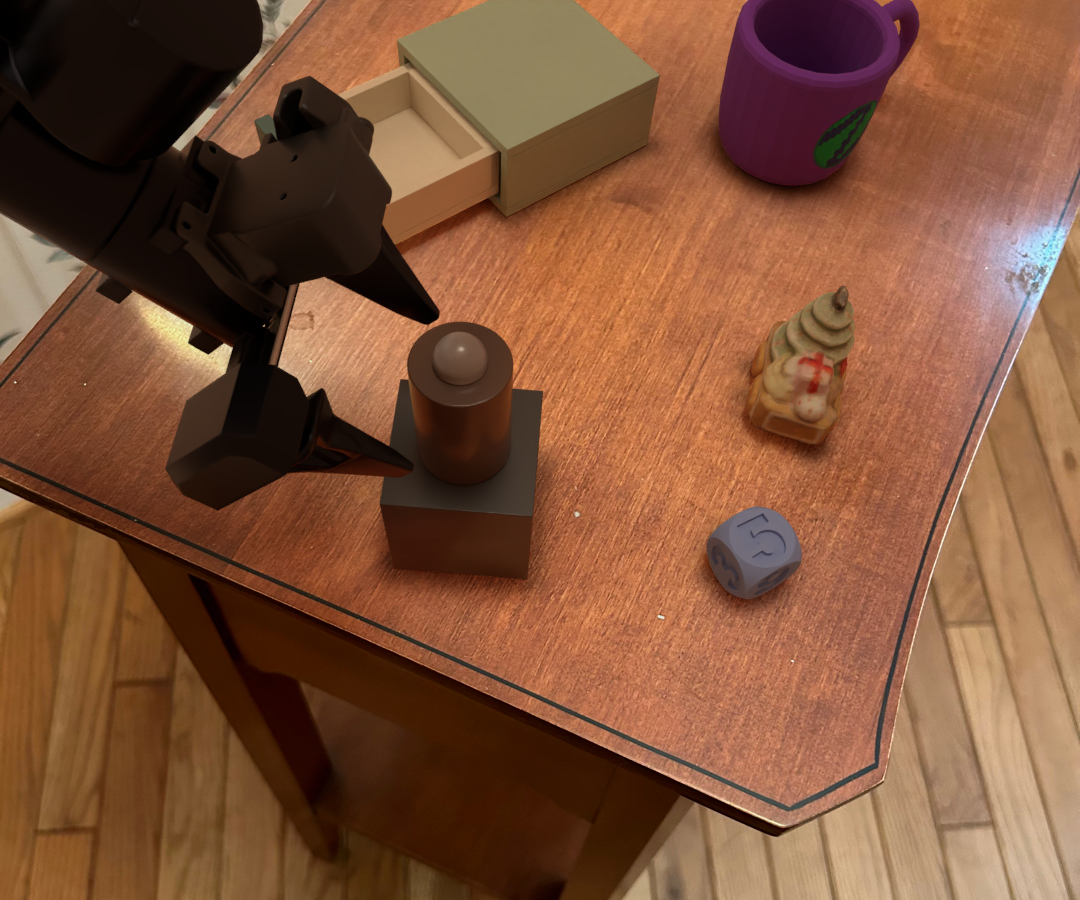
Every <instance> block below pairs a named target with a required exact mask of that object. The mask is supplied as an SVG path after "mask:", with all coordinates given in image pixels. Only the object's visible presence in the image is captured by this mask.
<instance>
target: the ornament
mask: <svg viewBox="0 0 1080 900" xmlns="http://www.w3.org/2000/svg"><path fill="white" fill-rule="evenodd" d="M849 296H850V294H849V289H848V288H847V285H841V286H839V287H838V289H837V290H836V291H828V292H825V293H822V294H820V295H819V296H817V297H816V298H815V299H814V300H812V301H810V302H808V303H807V304H806V305H805V306H804V307H803V308H801V309H800V310H798V311H797V312H795V313H794V314H793V315H792V316H791V317H790V318H789V320H783V319H782V320H778V321H776V322H775V323H774V324H772V326H771V328H770V330H769V332H768V335H767V336H766V338H765V340H764V341H761V342H760V343H759V345H758V347H757V348H756V351H755V354H754V356H753V360H752V364H751V371H750V372H751V376H752V377H753V378H754V379H753V381H752V383H751V386H750V389H749V392H748V394H747V398H746V403H745V408H746V410H747V412H748V415H749V419H750V422H751V424H753V425H754V427H755V428H757V429H759V430H761V431H765V432H768V433H772V434H774V435H778V436H781V437H785V438H787V439H792V440H794V441H797V442H800V443H805V444H808V445H812V446H818V445H820V444H821V443H822V442H824V440H825V438H827V436H828V435H829V434H830V432H831V431H832V430H834V429H835V427H836V425H837V424H838V421H839V418H840V416H841V407H842V399H841V396H842V394H843V391H844V387H845V384H844V383H845V379H846V376H847V369H848V356H849V354H850V352H851V351H852V349H853V348H854V345H855V343H856V342H855V341H856V339H855V329H856V322H855V319H854V318H855V309H854V306H853V304H852V302H851V301H850V300H849Z"/></svg>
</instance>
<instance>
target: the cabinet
mask: <svg viewBox="0 0 1080 900" xmlns="http://www.w3.org/2000/svg"><path fill="white" fill-rule="evenodd" d="M396 45H397V56H398V57H397V58H398V65H399V66H398V67H401V66H403V65H405V64H407V63H410V62H411V63H412V64H413V65H414V66H415V67H416V68H417V69H418V70H419V71H420V72H421V73H422V74H423V75H424V76H425V77H426V78H427V79H428V80H429V81H430V82H431V83H432V84H433V85H434V86H435V87H436V88H437V89H438V90H439V91H440V92H441V93H442V94H443V95H444V96H445V97H446V98H447V99H448V100H449V101H450V102H451V103H452V104H453V105H454V106H455V107H456V108H457V109H458V110H459V111H460V112H461V113H462V114H463V115H464V116H465V117H466V118H467V119H468V120H469V121H470V122H471V123H472V124H473V125H474V126H475V127H476V128H477V129H478V130H479V131H480V132H481V133H482V134H483V135H484V136H485V137H486V138H487V139H488V140H489V141H490V142H491V143H492V144H493V145H494V146H495V147H496V148H497V149H498V150H499V192H498V193H497V194H495V195H493V196H491V197H489V198H487V199H488V200H489V201H490V202H491V203H492V204H493V205H494V207H495V208H497V209H498V210H499V212H500V213H502V214H503V216H504V217H505V218H509V217H510V216H512V215H514V214H517V213H518V212H520V211H521V210H524V209H526V208H527V207H529V206H531V205H533V204H535V203H537V202H539V201H541V200H543V199H544V198H546V197H548V196H550V195H552V194H555V193H556V192H558V191H560V190H562V189H564V188H566V187H568V186H570V185H572V184H573V183H576V182H578V181H580V180H582V179H583V178H585V177H587V176H589V175H591V174H593V173H595V172H597V171H599V170H601V169H603V168H605V167H607V166H609V165H610V164H612V163H614V162H616V161H618V160H620V159H622V158H624V157H626V156H627V155H630V154H631V153H633V152H635V151H637V150H639V149H642V148H644V147H645V146H647V145H649V138H650V133H651V127H652V122H653V116H654V110H655V104H656V98H657V93H658V89H659V84H660V78H661V74H660V73H659V72H657V70H655V69H654V68H653V67H652V66H651V65H649V63H648V62H646V61H645V60H643V58H641V57H640V56H639V55H638V54H636V52H635V51H633V50H632V49H631V48H630V47H629V46H628V45H626V44H625V43H624V42H623V41H622V40H621V39H619V37H617V35H616V34H614V33H613V32H612V31H611V30H609V29H608V28H607V27H606V26H605V25H603V24H602V23H601V22H600V21H599V20H598V19H597V18H596V17H595V16H593V15H592V13H590V12H589V11H588V10H586V9H585V8H584V7H583V6H582V5H581V4H579V3H578V2H577V1H576V0H486V1H483V2H480V3H478V4H476V5H474V6H472V7H469V8H467V9H465V10H463V11H460V12H457V13H455V14H453V15H450V16H447V17H446V18H444V19H441V20H438V21H437V22H434V23H432V24H430V25H428V26H427V25H426V26H425V27H422V28H420V29H418V30H415V31H412V32H410V33H409V34H406V35H404V36H401V37H400V38H397V39H396Z"/></svg>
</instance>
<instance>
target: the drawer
mask: <svg viewBox="0 0 1080 900" xmlns="http://www.w3.org/2000/svg"><path fill="white" fill-rule="evenodd" d="M336 94H337V95H339V96H340V97H342V98H343V99H344V100H346V101H347V102H348V103H349V104H350V105H351V106H352V108H353V109H354V111H355V112H356V114H357V115H358V117H363V118H366V119H368V120H369V121H370V122H371V123H372V124H373V126H374V134H373V138H372V139H373V141H372V145H371V149H370V154H369V156H370V157H371V159H372V160H373V162H374V163H375V165H376V166H377V167H378V169H379V170H380V172H381V173H382V175H383V176H384V178H385V179H386V181H387V182H388V184H389V185H390V187H391V188H392V197H391V202H390V204H387V205H386V209H385V214H384V218H383V223H382V224H383V226H384V228H385V229H386V231H387V233H388V234H389V236H390V238H391V239H392V241H393V243H394V244H395V246H396V245H398V244H400V243H402V242H404V241H406V240H408V239H410V238H411V237H414V236H416V235H418V234H420V233H421V232H423V231H426V230H427V229H429V228H431V227H434V226H436V225H437V224H439V223H441V222H444V221H446V220H447V219H449V218H451V217H453V216H456V215H457V214H460V213H461V212H463V211H465V210H467V209H469V208H472V207H473V206H476V205H477V204H479V203H481V202H483V201H484V200H486V199H488V198H489V197H491V196H493V195H495V194H497V193H498V192H499V150H498V149H497V148H496V147H495V146H494V145H493V144H492V143H491V142H490V141H489V140H488V139H487V138H486V137H485V136H484V135H483V134H482V133H481V132H480V131H479V130H478V129H477V128H476V127H475V126H474V125H473V124H472V123H471V122H470V121H469V120H468V119H467V118H466V117H465V116H464V115H463V114H462V113H461V112H460V111H459V110H458V109H457V108H456V107H455V106H454V105H453V104H452V103H451V102H450V101H449V100H448V99H447V98H446V97H445V96H444V95H443V94H442V93H441V92H440V91H439V90H438V89H437V88H436V87H435V86H434V85H433V84H432V83H431V82H430V81H429V80H428V79H427V78H426V77H425V76H424V75H423V74H422V73H421V72H420V71H419V70H418V69H417V68H416V67H415V66H414V65H413V64H412V63H411V62H410V63H407V64H405V65H403V66H401V67H399V66H398V67H396V68H394V69H391V70H389V71H387V72H385V73H382V74H380V75H378V76H375V77H373V78H371V79H369V80H367V81H365V82H362V83H360V84H357V85H355V86H352V87H350V88H349V89H346V90H343V91H341V92H339V93H336ZM253 123H254V126H255V130H256V133H257V137H258V141H259V145H260V146H261V142H262V139H263V136H264V135H266V134H269V133H272V134H273V135H274V137H275V138H276V139H277V137H276V132H275V127H274V122H273V116H271V114H269V113H267V114H265V115H262V116H260V117H258V118H255V119H254V120H253Z"/></svg>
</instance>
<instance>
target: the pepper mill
mask: <svg viewBox="0 0 1080 900" xmlns="http://www.w3.org/2000/svg"><path fill="white" fill-rule="evenodd" d="M406 371H407V380H409V387H410V395H411V403H412V410H413V418H414V425H415V433H416V441H417V448H418V454H419V457H420V459H421V462H422V463H423V465H424V466H425V468H426V469H427V470H428V471H429V472H430V473H431V474H433V475H434V476H435V477H437V478H439V479H441V480H443V481H445V482H448V483H452V484H458V485H470V484H476V483H479V482H482V481H485V480H487V479H489V478H491V477H492V476H494V475H495V474H496V473H498V472H499V471H500V470H501V469H502V467H503V466H504V465H505V463H506V461H507V459H508V457H509V454H510V449H511V423H512V394H513V388H514V357H513V354H512V351H511V349H510V346H509V345H508V343H506V341H505V339H504V338H503V337H501V335H500V334H498V333H497V332H495V331H494V330H493V329H492V328H489V327H487V326H485V325H482V324H480V323H475V322H471V321H470V322H469V321H450V322H445V323H442V324H438V325H436V326H433V327H432V328H430V329H428V330H427V331H425V332H424V333H422V334H421V335H420V336H419V337H418V338H417V339H415V342H414V343H413V344H412V346H411V348H410V350H409V353H408V356H407V359H406Z"/></svg>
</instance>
